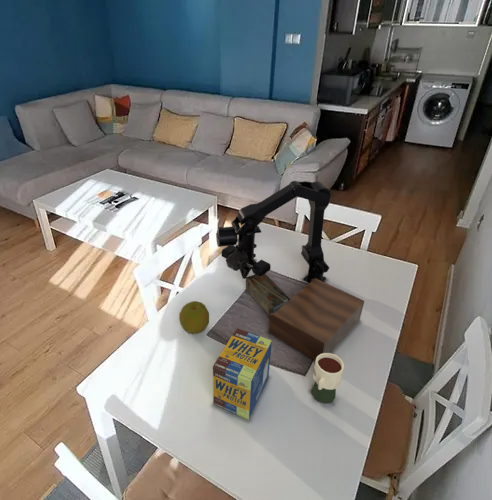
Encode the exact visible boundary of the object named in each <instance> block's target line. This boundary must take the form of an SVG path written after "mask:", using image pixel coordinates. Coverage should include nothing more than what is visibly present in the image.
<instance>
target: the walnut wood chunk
mask: <svg viewBox="0 0 492 500" xmlns="http://www.w3.org/2000/svg"><path fill="white" fill-rule="evenodd" d="M364 304H365V300H364V299H361V298H359V297H357V296H355V295H353V294H351V293H348V292H346V291H344V290H342V289H340V288H338V287H335V286H333V285H331V284H329V283H328V282H327V283H326V282H325V281H324V282H323V281H320V280H318V279H316V278H315V279H312V280H311V282H310V283H309V282H308V284H306V285H305V286H304V287H303V288H301V290H300V291H298V292H297V293H296V294H295V295H293V296H292V297H291V298H290V300H289V301H288V302H287V303H285V304H284V305H283V306H282V307H281V308H279V309H278V310H277V311H276V312H275V313H271V314H270V315H269V324H268V334H270V335H271V336H273V337H275V338H276V339H278V340H280V341H281V342H283V343H285V344H286V345H288V346H290V347H291V348H293V349H294V350H295V351H297V352H299V353H301V354H303V355H304V356H306V357H308V358H309V359H311V360H313V361H314V362H315V361H316V358H317V356H318V355H320V354H323V353H331V354H332V352H333V351H334V350H335V349H336V348H337V347H338V346H339V344H341V342H342V341H343V340H344V339H345V338H346V337H347V336H348V335H349V333H350V332H351V331H352V330H353V329H354V328H355V327H356V325H357V324H359V322H360V321H361V316H362V312H363V308H364Z"/></svg>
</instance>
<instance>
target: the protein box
mask: <svg viewBox="0 0 492 500" xmlns="http://www.w3.org/2000/svg"><path fill="white" fill-rule="evenodd" d="M272 345H273V340H272V339H269V338H267V337H264V336H261V335H258V334H255V333H253V332H250V331H247V330H244V329H241V328H239V327H236V329H235V330H234V332H233V334H232V335H231V336H230V338H229V339H228V341H227V343H226V345H225V346H224V348H223V349H222V351H221V352H220V354H219V356H218V357H217V358H216V361H214V364H213V365H212V394H213V405H214V406H217V407H219V408H220V409H223V410H226V411H228V412H230V413H231V414H234V415H235V416H238V417H241V418H243V419H245V420H250V418H251V415H252V413H253V412H254V409H255V407H256V405H257V403H258V401H259V398H260V397H261V395H262V394H263V393H262V392H263V391H264V388H265V386H266V384H267V382H268V380H269V375H270V364H271V354H272Z"/></svg>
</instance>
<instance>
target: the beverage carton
mask: <svg viewBox="0 0 492 500" xmlns="http://www.w3.org/2000/svg"><path fill="white" fill-rule="evenodd" d="M245 290H246V291H247V292H248V293H249V294H250V296H252V298H253V299H254V300H255V301H256V302H257V303H258V304H259V305H260V307H261V308H262V309H263V310H264V311H265V312H266V313H267V315H269V316H270V314H271V313H275V312H276V311H277V310H278V309H279V308H281V307H282V306H283V305H284V304H285V303H287V302H288V301H289V300H290V299H291V298H290V297H289V296H288V295H287V294H286V293H285V292H284V291H283V289H281V288H280V287H279V285H278V284H277V283H276V282H275V281H274V280H273V279H271V278H270V277H269V276H268V274H267V273H265V274H264V275H262V276H258V275H256V274H254V273H253V274H252V275H247V277H246V278H245Z"/></svg>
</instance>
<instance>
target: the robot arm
mask: <svg viewBox="0 0 492 500" xmlns="http://www.w3.org/2000/svg"><path fill="white" fill-rule="evenodd" d="M296 198H302V199H305V200H307V201H308V204H309V209H310V210H309V222H308V234H307V242H306V244H305V245H304V244H303V245H301V252H300V255H301V256H302V257H303V259H304V260H305V262H306V263H307V265H308V270H307V275H305V276H304V277H303V279H302V280H303V281H304V282H307V283H308V284H309V283H310V282H311V280H312V279H315V278H316V279H318V280H320V281H323V282H325V281H326V280H327V277H325V276H324V273H328V271H329V270H330V266H329V265H328V264H327V262H326V261H325V256H324V255H325V254H324V251H323V247H322V239H323V230H324V219H325V211H326V209H327V208H328V206H329V205H330V202H331V198H332V192H331V191H330V189H329V188H328V187H327V186H326V185H324V183H322V182H321V181H318V180H316V181H308V180H304V181H298V180H292V181H290V182H289V184H288V185H285V186H284V187H282V188H281V189H279V190H278V191H275V192H274V193H273V194H271V195H269V196H268V197H266V198H265V199H263V200H261V201H259V202H257V203H251V204H248V205H246V206H243V207H242V208H239V210H238V212H237V215H236V216H235V218H234V219H232V221H231V222H230V224H231V226H218V227H217V230H216V233H215V238H216V239H215V240H216V245H217V247H218V248H222V247H224V248H222V250H221V253H220V254H221V255H220V256H221V257H222V258H224V259H225V264H226V266H227V268H229V269H232V270H233V271H235V272H238V271H239V272H240V275H241V277H242V280H246V277H248V276H249V274H250V272H252V273H253V275H254V274H256V275H258V276H262V275H264V274H267V273H268V272H269V271H271V267H272V266H271V265H272V264H271V263H270V262H268V261H266V260H263V259H260V260H257V259H256V256H257V254H256V253H255V249H256V248H257V244H256V242H255V241H256V234H260V233H262V229H261V228H260V226H259V225H260V224H261V223H262V222H263V221H264V219H265V218H266V217H267V216H268V215H270V214H271V213H273V212H274V211H276V210H278V209H279V208H281V207H283V206H284V205H286V204H288V203H289V202H292V201H293V200H294V199H296Z"/></svg>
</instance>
